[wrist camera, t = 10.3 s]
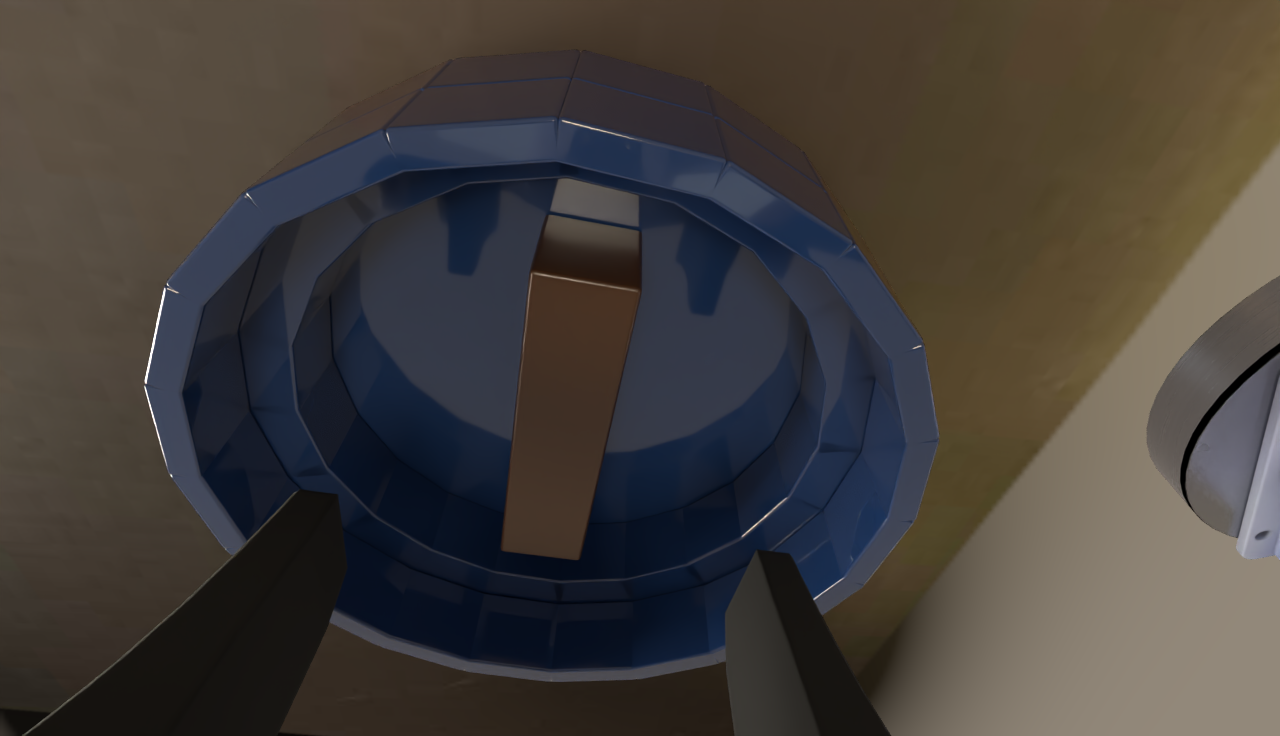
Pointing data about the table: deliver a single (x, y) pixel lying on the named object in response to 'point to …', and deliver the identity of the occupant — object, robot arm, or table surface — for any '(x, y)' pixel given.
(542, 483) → the brown rectangular bar
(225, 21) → the table surface
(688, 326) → the bowl
